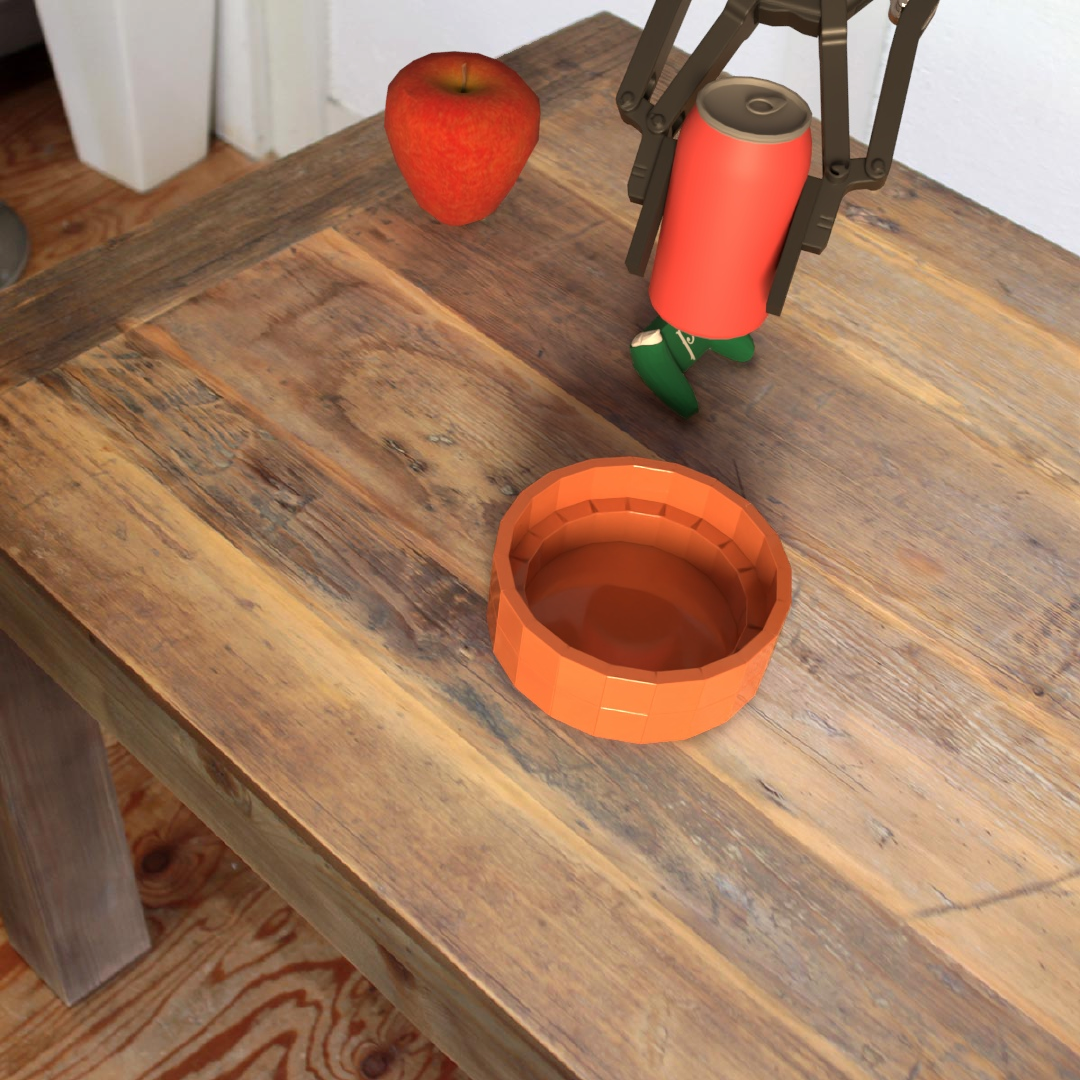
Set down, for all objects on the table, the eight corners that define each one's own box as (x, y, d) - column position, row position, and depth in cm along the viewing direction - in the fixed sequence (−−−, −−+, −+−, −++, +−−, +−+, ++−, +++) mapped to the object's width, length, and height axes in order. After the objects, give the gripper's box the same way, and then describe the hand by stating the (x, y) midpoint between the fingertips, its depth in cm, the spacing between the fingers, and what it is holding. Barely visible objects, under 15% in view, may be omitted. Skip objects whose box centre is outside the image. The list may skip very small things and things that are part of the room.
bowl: (768, 552, 79) (792, 481, 75) (763, 774, 69) (791, 707, 64) (508, 509, 79) (517, 436, 75) (465, 724, 69) (472, 654, 64)
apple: (551, 244, 98) (571, 94, 89) (412, 268, 94) (417, 113, 85) (496, 162, 104) (509, 14, 95) (364, 181, 101) (364, 29, 92)
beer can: (792, 324, 72) (852, 123, 63) (696, 360, 69) (745, 156, 60) (716, 257, 75) (763, 58, 66) (622, 289, 72) (658, 86, 63)
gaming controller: (722, 363, 93) (681, 289, 92) (764, 349, 90) (722, 272, 89) (653, 431, 88) (608, 354, 86) (695, 419, 85) (649, 339, 83)
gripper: (1028, -81, 68) (886, 355, 69) (662, -167, 71) (532, 252, 72) (1061, -155, 60) (902, 334, 62) (651, -248, 63) (506, 221, 65)
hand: (703, 289), depth 67 cm, fingers closed on beer can, 7 cm apart
